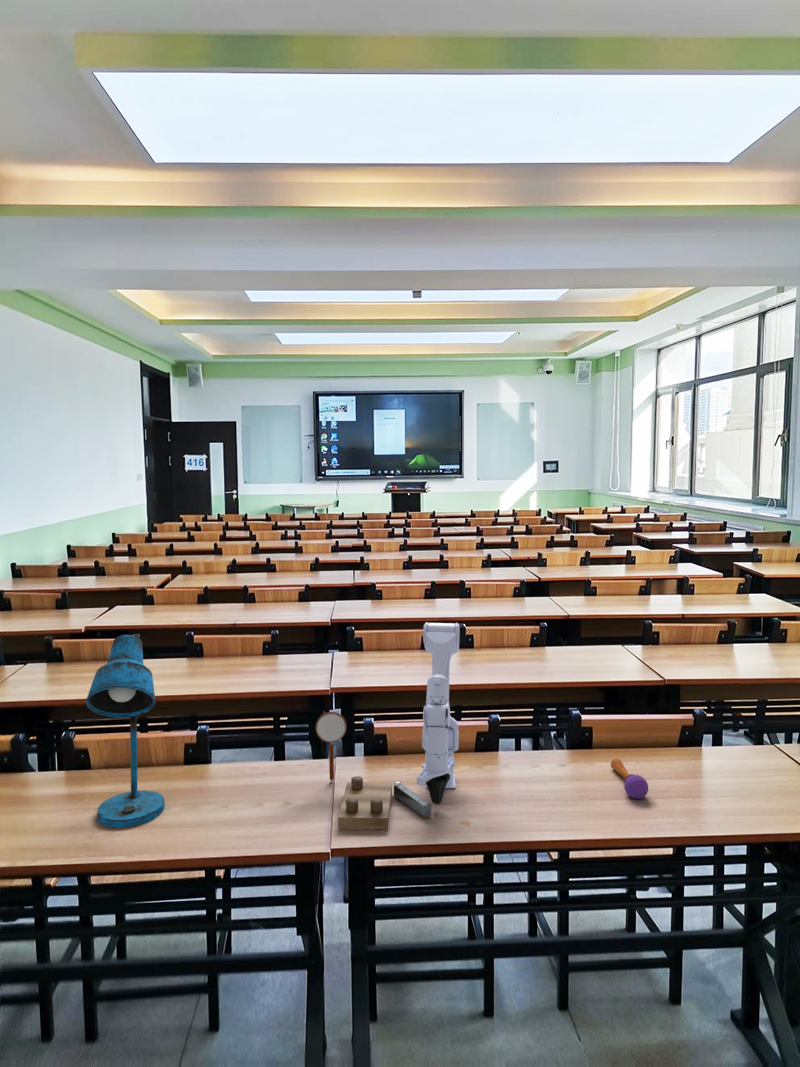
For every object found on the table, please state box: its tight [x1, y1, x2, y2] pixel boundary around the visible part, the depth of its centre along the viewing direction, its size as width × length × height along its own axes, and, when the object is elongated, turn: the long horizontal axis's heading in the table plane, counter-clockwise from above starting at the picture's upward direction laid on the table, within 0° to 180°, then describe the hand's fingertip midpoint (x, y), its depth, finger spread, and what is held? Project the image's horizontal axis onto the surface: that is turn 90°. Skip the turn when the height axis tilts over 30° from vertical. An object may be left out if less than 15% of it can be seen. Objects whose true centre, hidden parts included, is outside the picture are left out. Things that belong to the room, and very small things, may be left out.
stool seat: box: [337, 776, 393, 831], centre depth 176 cm, size 19×12×6 cm, turn 178°
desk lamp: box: [85, 634, 166, 829], centre depth 172 cm, size 16×22×45 cm
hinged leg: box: [393, 780, 432, 819], centre depth 178 cm, size 15×2×4 cm, turn 33°
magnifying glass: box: [314, 711, 348, 783], centre depth 191 cm, size 9×2×20 cm, turn 96°
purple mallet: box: [610, 758, 649, 800], centre depth 190 cm, size 6×6×20 cm
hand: (436, 802), depth 176 cm, fingers closed
